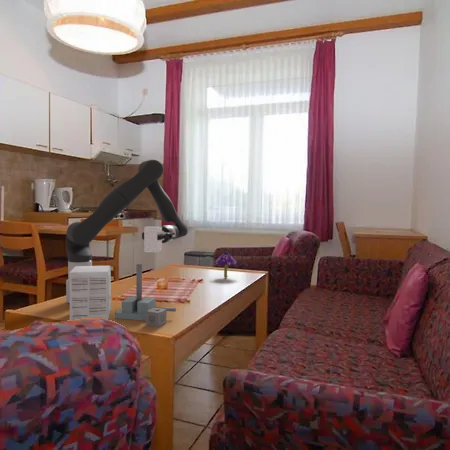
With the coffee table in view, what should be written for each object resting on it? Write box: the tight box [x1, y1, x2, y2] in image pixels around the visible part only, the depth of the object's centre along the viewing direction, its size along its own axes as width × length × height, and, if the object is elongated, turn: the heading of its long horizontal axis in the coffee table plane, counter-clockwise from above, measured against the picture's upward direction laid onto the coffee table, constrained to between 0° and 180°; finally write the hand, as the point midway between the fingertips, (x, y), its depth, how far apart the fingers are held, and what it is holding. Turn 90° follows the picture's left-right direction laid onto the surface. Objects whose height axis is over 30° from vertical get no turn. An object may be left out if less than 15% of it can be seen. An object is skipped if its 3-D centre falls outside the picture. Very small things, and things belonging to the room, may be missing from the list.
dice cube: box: [145, 307, 167, 328], centre depth 129 cm, size 5×5×5 cm
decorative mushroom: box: [214, 251, 238, 279], centre depth 211 cm, size 12×12×15 cm
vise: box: [114, 263, 177, 321], centre depth 138 cm, size 21×10×19 cm, turn 80°
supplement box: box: [69, 265, 112, 321], centre depth 137 cm, size 13×13×18 cm
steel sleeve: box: [143, 225, 163, 253], centre depth 151 cm, size 5×5×10 cm
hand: (150, 237), depth 149 cm, fingers closed on steel sleeve, 5 cm apart
